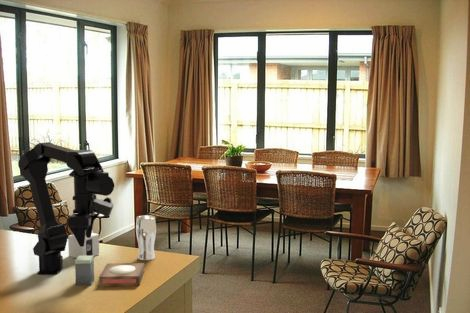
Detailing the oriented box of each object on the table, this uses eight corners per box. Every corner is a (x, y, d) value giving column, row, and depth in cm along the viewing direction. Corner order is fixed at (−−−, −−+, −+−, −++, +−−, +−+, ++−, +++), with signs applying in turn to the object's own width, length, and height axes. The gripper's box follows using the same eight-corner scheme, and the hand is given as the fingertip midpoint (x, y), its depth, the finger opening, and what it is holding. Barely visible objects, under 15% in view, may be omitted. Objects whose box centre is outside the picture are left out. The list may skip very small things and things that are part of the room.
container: (99, 254, 181) (98, 219, 179) (82, 260, 174) (81, 224, 173) (85, 250, 185) (84, 216, 183) (68, 256, 178) (67, 221, 177)
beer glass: (152, 262, 173) (151, 220, 171) (133, 260, 174) (132, 218, 172) (159, 255, 180) (158, 215, 178) (141, 254, 181) (140, 214, 179)
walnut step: (99, 286, 150) (99, 276, 150) (107, 272, 162) (107, 263, 162) (139, 285, 151) (138, 276, 151) (144, 271, 163) (144, 262, 163)
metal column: (75, 285, 151) (75, 260, 150) (79, 280, 155) (78, 255, 154) (90, 285, 151) (90, 260, 150) (94, 280, 156) (93, 255, 155)
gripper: (105, 198, 142) (106, 250, 143) (116, 186, 160) (117, 233, 162) (65, 198, 141) (67, 251, 143) (80, 186, 159) (82, 233, 161)
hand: (85, 241), depth 152 cm, fingers open, 9 cm apart
